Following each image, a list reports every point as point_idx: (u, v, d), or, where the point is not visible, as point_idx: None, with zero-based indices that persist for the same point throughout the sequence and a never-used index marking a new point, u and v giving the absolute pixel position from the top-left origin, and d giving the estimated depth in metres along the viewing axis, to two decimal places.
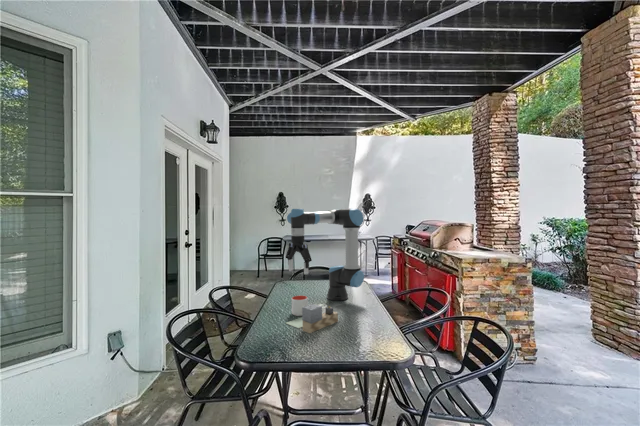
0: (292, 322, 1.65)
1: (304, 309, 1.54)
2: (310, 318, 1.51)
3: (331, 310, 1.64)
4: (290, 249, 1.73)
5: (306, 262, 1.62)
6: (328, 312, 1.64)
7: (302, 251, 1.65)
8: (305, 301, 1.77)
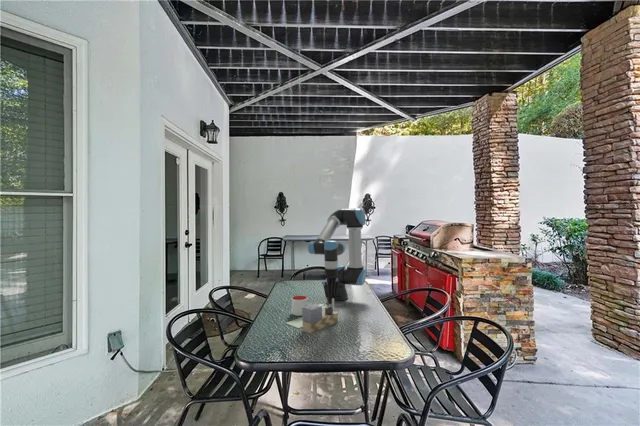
0: (292, 322, 1.65)
1: (304, 309, 1.54)
2: (310, 318, 1.51)
3: (331, 310, 1.64)
4: None
5: None
6: (328, 312, 1.63)
7: (328, 286, 1.65)
8: (305, 301, 1.77)
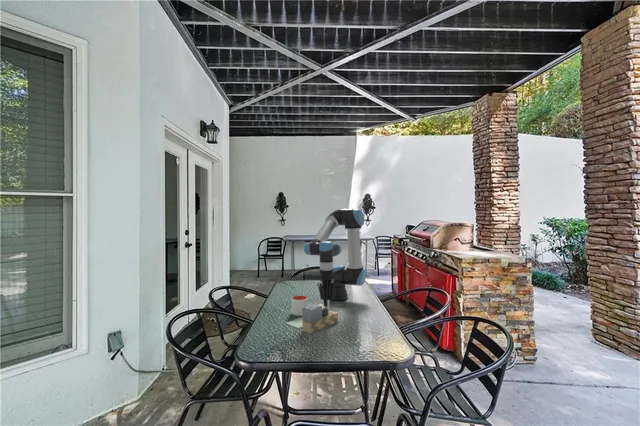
0: (292, 322, 1.65)
1: (304, 309, 1.54)
2: (310, 318, 1.51)
3: (326, 312, 1.61)
4: (330, 286, 1.67)
5: None
6: (323, 314, 1.61)
7: (324, 288, 1.63)
8: (305, 301, 1.77)
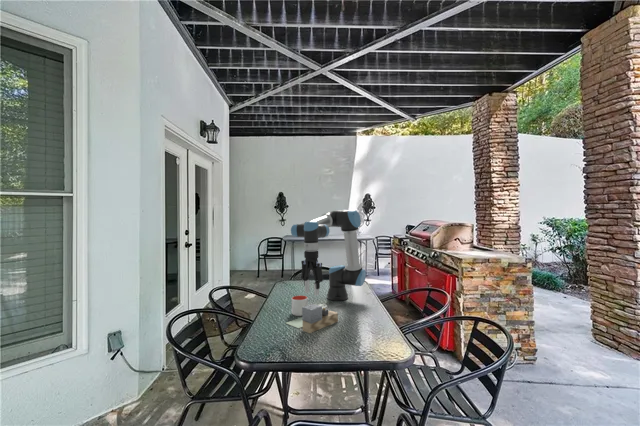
0: (292, 322, 1.65)
1: (304, 309, 1.54)
2: (310, 318, 1.51)
3: (326, 312, 1.61)
4: (304, 267, 1.59)
5: (316, 282, 1.52)
6: (323, 314, 1.61)
7: (315, 269, 1.53)
8: (305, 301, 1.77)
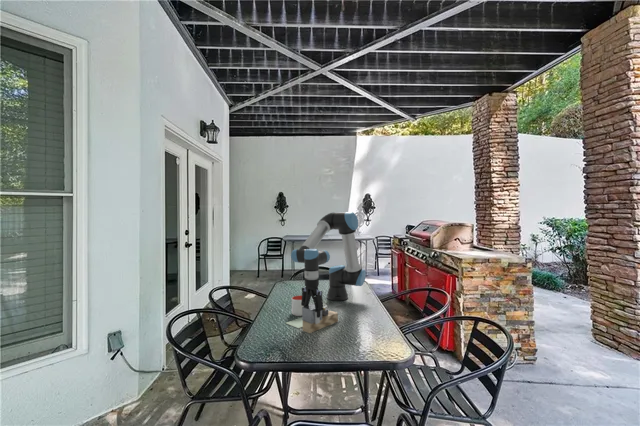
0: (292, 322, 1.65)
1: (304, 309, 1.54)
2: (310, 318, 1.51)
3: (326, 312, 1.61)
4: (304, 294, 1.59)
5: None
6: (323, 314, 1.61)
7: (315, 297, 1.53)
8: None
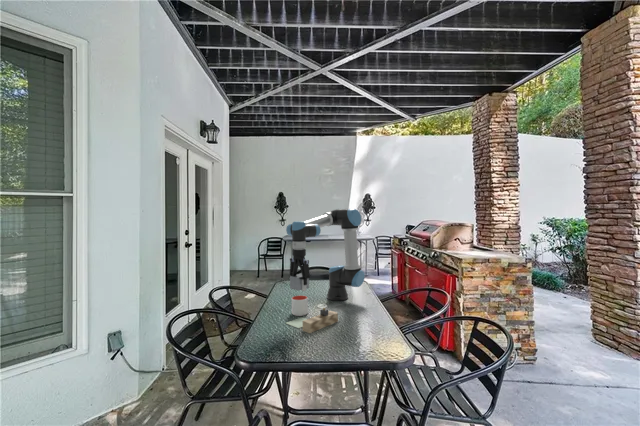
0: (292, 322, 1.65)
1: (292, 277, 1.63)
2: (297, 285, 1.60)
3: (326, 312, 1.61)
4: (292, 264, 1.68)
5: None
6: (323, 314, 1.61)
7: (302, 266, 1.62)
8: (305, 301, 1.77)
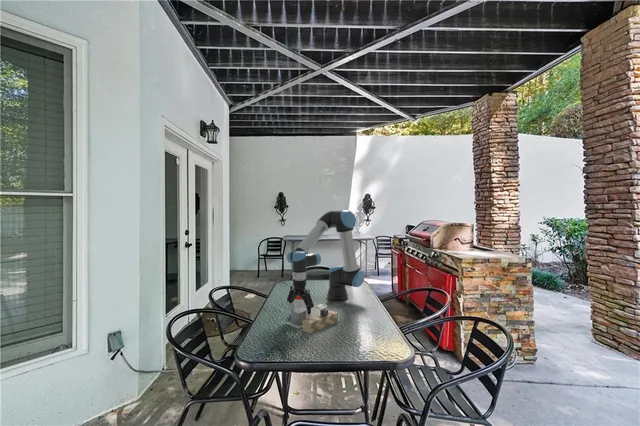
0: None
1: (292, 312, 1.63)
2: (298, 321, 1.60)
3: (326, 312, 1.61)
4: (291, 292, 1.69)
5: (308, 308, 1.59)
6: (323, 314, 1.61)
7: (304, 296, 1.62)
8: None
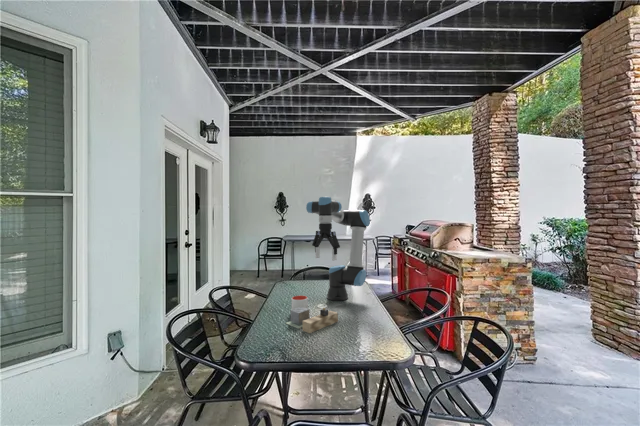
0: None
1: (292, 312, 1.63)
2: (298, 321, 1.60)
3: (326, 312, 1.61)
4: (317, 237, 1.77)
5: (334, 248, 1.66)
6: (323, 314, 1.61)
7: (330, 238, 1.69)
8: (305, 301, 1.77)
